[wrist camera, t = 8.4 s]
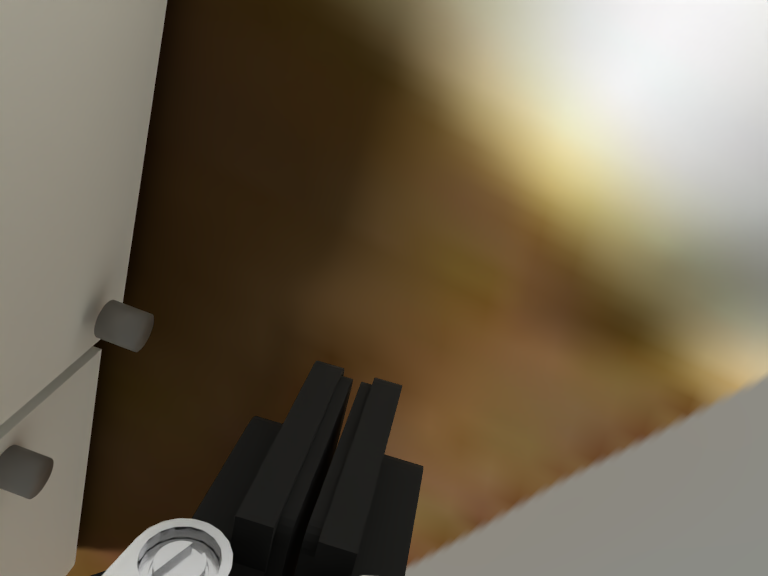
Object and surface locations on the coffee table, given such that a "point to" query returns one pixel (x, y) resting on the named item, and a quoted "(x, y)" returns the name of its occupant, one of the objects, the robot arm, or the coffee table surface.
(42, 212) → the left door
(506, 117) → the coffee table surface
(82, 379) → the cabinet
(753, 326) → the coffee table surface
